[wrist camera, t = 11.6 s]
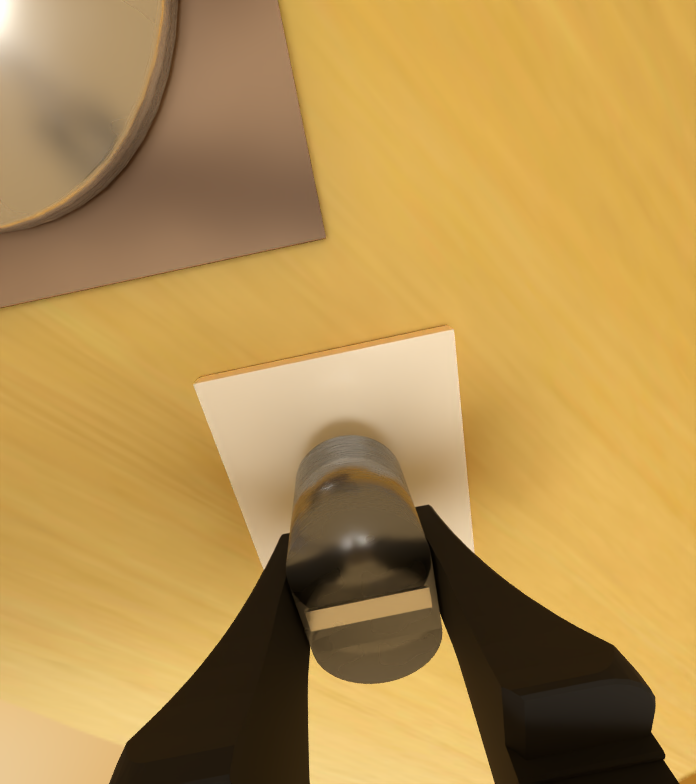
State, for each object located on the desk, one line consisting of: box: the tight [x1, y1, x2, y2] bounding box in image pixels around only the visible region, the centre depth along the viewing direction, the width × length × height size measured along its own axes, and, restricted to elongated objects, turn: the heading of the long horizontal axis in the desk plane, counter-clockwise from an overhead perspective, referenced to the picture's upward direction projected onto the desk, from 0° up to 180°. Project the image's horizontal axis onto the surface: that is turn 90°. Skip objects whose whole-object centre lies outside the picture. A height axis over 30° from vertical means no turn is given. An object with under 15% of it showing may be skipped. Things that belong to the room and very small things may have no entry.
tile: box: [193, 325, 475, 570], centre depth 17 cm, size 12×10×1 cm
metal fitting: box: [286, 435, 442, 684], centre depth 13 cm, size 7×4×4 cm, turn 11°
